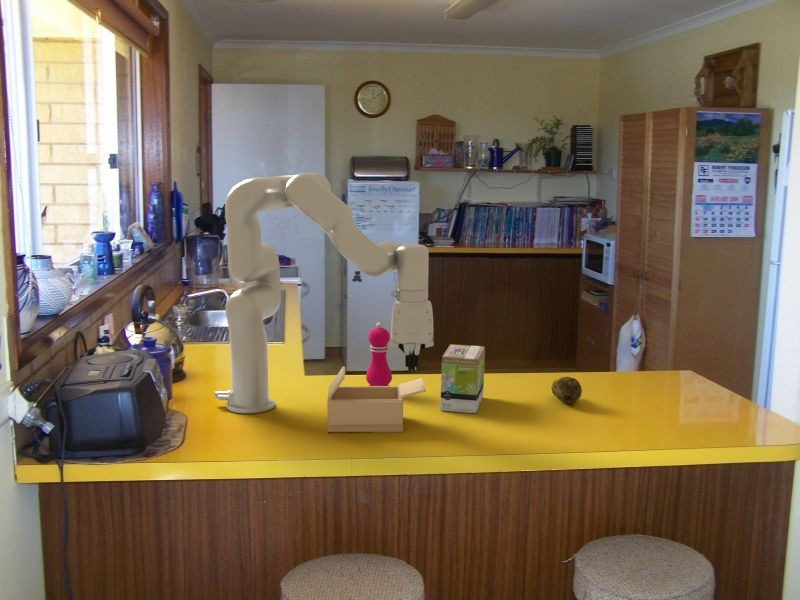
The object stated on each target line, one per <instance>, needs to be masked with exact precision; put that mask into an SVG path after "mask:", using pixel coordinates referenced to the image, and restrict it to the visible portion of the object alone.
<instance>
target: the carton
mask: <svg viewBox="0 0 800 600" xmlns="http://www.w3.org/2000/svg"><path fill="white" fill-rule="evenodd" d="M328 395H329V391H328V393H327V402H326V403H327V407H326V409H327V433H328V432H375V433H403V432H404V398H401V393H400V387H399V385H389V386H369V385H365V386H362V385H360V386H359V385H357V386H356V385H355V386H353V385H352V386H351V385H350V386H348V385H347V386H346V385H345V386H340V385H339V387H338V388H337V390H336V391H335V392H334V394H333V395H332V397H331V398H329V397H328Z"/></svg>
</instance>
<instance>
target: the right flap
mask: <svg viewBox="0 0 800 600" xmlns="http://www.w3.org/2000/svg"><path fill="white" fill-rule="evenodd" d="M398 386H399V387H400V393H401V398H403V399H405V398H406V397H407V398H408V397H410V396H411V397H412V396H414V395H419V394H422V393H426V388H425V383H424V379H423V377H420V378H418V379H414V380H410V381H406V382H402V383H399V384H398Z"/></svg>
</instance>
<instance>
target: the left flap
mask: <svg viewBox="0 0 800 600" xmlns="http://www.w3.org/2000/svg"><path fill="white" fill-rule="evenodd" d="M345 377H346V366H342V367H341V369H340V370H339V371H338V372H337V375H336V376H335V377H334V379H332V381H331V382H330V384H329V387H328V392H329V395H328V394H327V398H328V397H329V398H331V397H332V395H333V394H334V392H335V391H336V390H337V388H338V387H339V386H340V385H341V384H342V383H343V381H344V380H345Z"/></svg>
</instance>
